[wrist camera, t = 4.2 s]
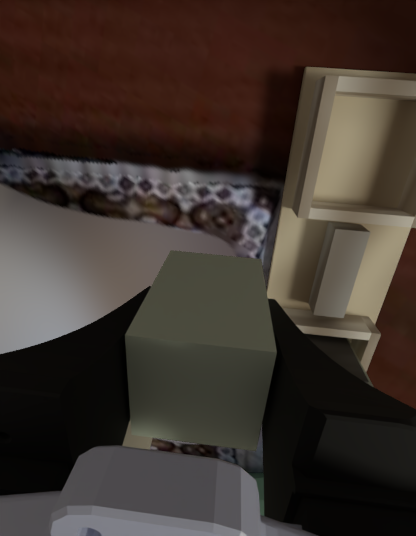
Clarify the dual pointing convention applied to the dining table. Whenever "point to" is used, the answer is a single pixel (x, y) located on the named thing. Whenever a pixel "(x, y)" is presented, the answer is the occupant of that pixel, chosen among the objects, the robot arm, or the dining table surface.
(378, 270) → the rail
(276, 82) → the dining table surface
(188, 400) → the pale green block
